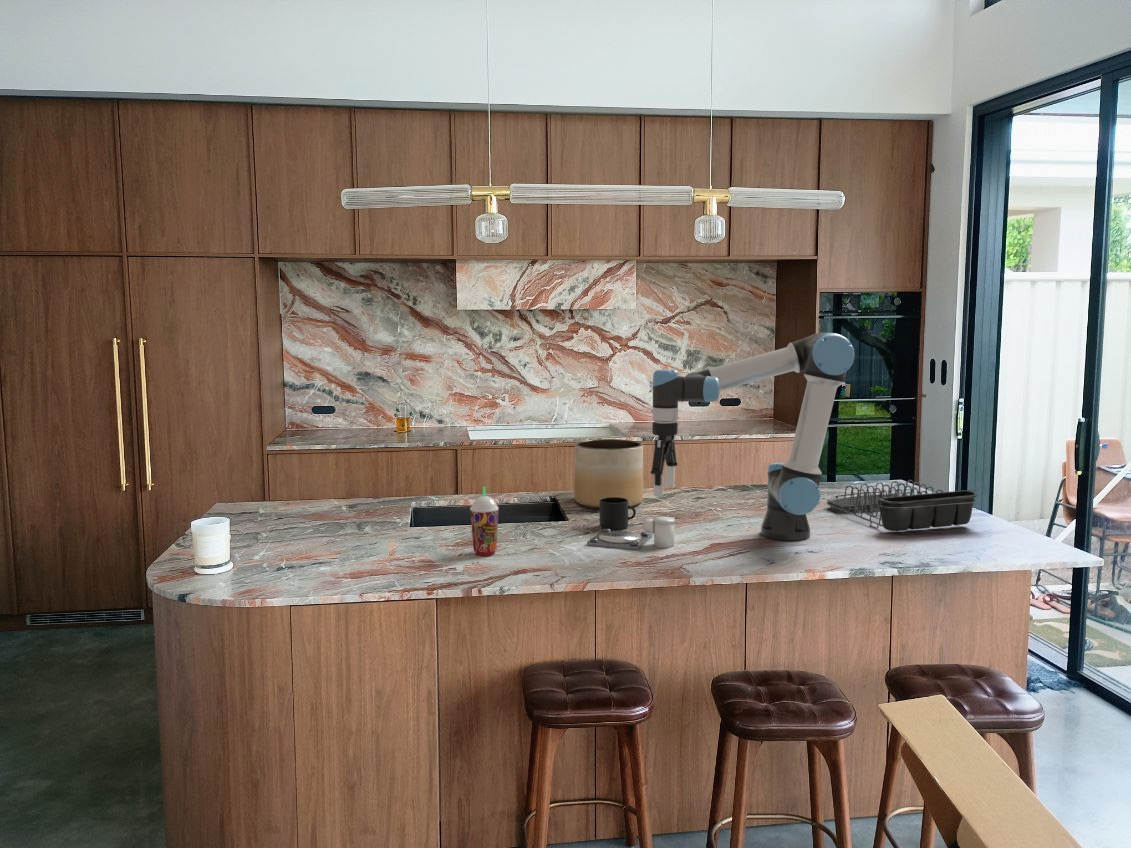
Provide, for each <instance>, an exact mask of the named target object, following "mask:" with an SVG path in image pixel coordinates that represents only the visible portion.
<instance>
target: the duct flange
mask: <svg viewBox="0 0 1131 848" xmlns="http://www.w3.org/2000/svg"><path fill="white" fill-rule="evenodd" d="M652 536H653V534H651V533H644V531H642V532H634V531H626V530H611V529H608V528H605V529H602V530H601V531H599V533H598V532H597V534H596V535H595V536H593V537H590V539H589V540H587V542H586V546H589V547H591V546H592V547H601V548H602V547H603V548H613V549H623V550H634V551H639V550H640V549H641V548H642V547H643V546H644V545H645V544H646V543H647V542H648V541H650V539H651V538H652Z"/></svg>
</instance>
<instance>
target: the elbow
mask: <svg viewBox="0 0 1131 848" xmlns="http://www.w3.org/2000/svg"><path fill="white" fill-rule="evenodd" d="M675 523H676V519H675V518H674V517H671V516H656V517H654V518H644V520H643V525H642V532H644V533H649V534H652V535H653V538H654V539H653V544H654V547H655V548H659V549H660V548H661V549H670V548H674V547H675Z"/></svg>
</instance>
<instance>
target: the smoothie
mask: <svg viewBox="0 0 1131 848" xmlns="http://www.w3.org/2000/svg"><path fill="white" fill-rule="evenodd" d="M499 508H500V507H499V506H498V505H497V503H496V500H494V498H492V497H491V496H488V495H486V486H483V487H482V495H481V496H478V497H477V498H475V500H474V501H473V502H472V504H471V506H470V508H469V510H470V520H471V521H470V523H471V535H472V545H473V546H472V547H473V548H472V549H473V551H474V552H475V555H476V556H478V557H490V556H493V555H494V554H495V553H496V551H497V550H498V549H497V547H498V528H499V527H498V525H499V510H500V509H499Z"/></svg>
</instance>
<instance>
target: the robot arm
mask: <svg viewBox="0 0 1131 848" xmlns="http://www.w3.org/2000/svg"><path fill="white" fill-rule="evenodd" d="M854 360H855V349H854V346H853V345H852V342H851V341H850V340H849V339H848V338H846V337H845V336H843V335H842V334H838V333H835V332H822V331H821V332H818V333H813V334H812V335H809V336H807V337H804V338H801V339H798V340H796V341H791V342H789V343H788V344H787V346H786V347H783V348H779V349H777V350H776V349H775V350H773V351H769V352H765V353H762V354H758V355H754V356H750V357H747V358H744V359H739V360H736V361H732V362H730V363H725V364H722V365H717V366H715V367H711V368H708V369H704V370H700V371H697V372H696V371H692V372H689V373H687V374H686V375H685V376H682V375H680V374H679V370H677V369H664V368H663V369H656V370H655V371H654V372H653V375H652V376H653V377H652V409H651V410H650V413H651V414H652V421H653V422H652V435H654V436H657V437H658V439H655V441H654V450H653V458H652V467H651V471H650V474H651V475H653V497H664V487H665V488H673V489H674V488H675V476H676V475H675V471H676V470H675V467H677V466H678V462H677V454H676V452H677V451H676V445H675V444H676V443H675V436H676V435H677V434H678V433H679V431H678V429H679V424H678V422H677V421H678V420H679V402H681V403H683V402H689V403H690V402H691V403H693V402H694V403H695V402H696V403H699V402H701V403H711V402H712V403H713V402H714V403H715V402H717V401H718V399H719V398H720V392H721V391H724V390H728V389H732V388H735V387H738V386H740V387H741V386H742V385H745V384H749V383H753V382H757V381H761V380H764V379H768V378H772V377H775V376H776V377H777V376H779V375H784V374H786V373H787V374H788V373H790V372H795V373H796V374H799V373H803V377H804V378H805V380H806V382H807V383H806V387H805V391H804V395H803V398H802V399H803V400H802V403H801V407H800V412H799V415H798V421H797V424H796V428H795V434H794V437H793V441H792V446H791V450H790V453H789V458H788V459H787V460H786V461H785V462H774V463H770V464H769V465H768V469H767V496H766V497H767V501H766V502H767V507H766V513H765V515H764V518H763V520H762V524H761V526H760V534H761V536H763V537H765V538H769V539H772V540H773V539H774V540H779V541H801V540H806V539H809V538H810V536H811V528H810V524H809V520H808V517H807V514H810V513H812V511H814V510H815V509H816V508H817V506H819V503H820V500H821V492H820V491H821V489H820V488H819V487H820V482H821V478H822V475H823V473H822V470H821V469H820V468H819V464H820V459H821V454H822V451H823V448H824V444H825V439H826V436H827V435H826V434H827V430H828V427H829V422H830V418H831V415H832V411H833V406H834V401H835V397H836V393H837V389H838V387H840V386H841V385H843V384H844V383H845V380H846V375H847V371H848V370H850V369H851V368H852V365H853V364H854ZM665 464H666V465H665ZM664 467H665V468H664ZM664 469H665V473H664V474H665V475H664V474H663V471H664ZM664 477H665V478H664ZM664 480H665V481H664ZM664 482H665V483H664ZM664 484H665V485H664Z"/></svg>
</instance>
